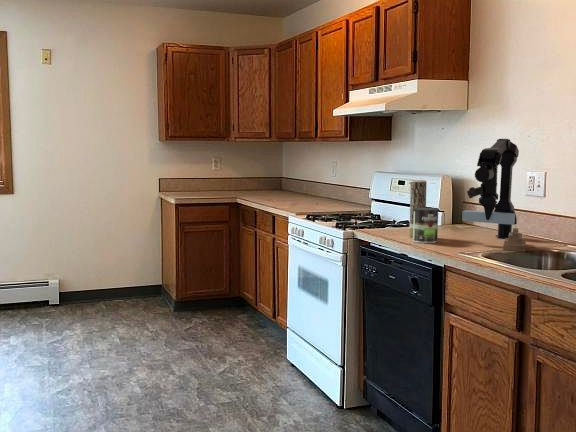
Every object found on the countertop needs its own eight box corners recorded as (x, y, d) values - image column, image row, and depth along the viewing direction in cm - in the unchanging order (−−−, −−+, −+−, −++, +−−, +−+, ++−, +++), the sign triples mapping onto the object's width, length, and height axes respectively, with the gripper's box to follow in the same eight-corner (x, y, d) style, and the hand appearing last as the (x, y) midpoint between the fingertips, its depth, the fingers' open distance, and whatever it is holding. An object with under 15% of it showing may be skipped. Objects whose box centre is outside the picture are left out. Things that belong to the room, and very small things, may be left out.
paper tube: (422, 235, 282) (424, 179, 279) (426, 238, 275) (428, 180, 272) (407, 235, 282) (409, 179, 279) (411, 238, 275) (412, 181, 272)
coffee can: (441, 243, 263) (442, 209, 261) (418, 243, 261) (419, 210, 259) (431, 239, 273) (432, 206, 271) (408, 240, 271) (409, 207, 269)
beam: (465, 219, 262) (465, 210, 262) (514, 223, 251) (514, 213, 251) (462, 220, 259) (462, 211, 259) (512, 224, 248) (512, 214, 248)
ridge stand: (504, 243, 262) (505, 227, 262) (525, 244, 260) (526, 228, 259) (503, 250, 246) (504, 233, 245) (525, 251, 243) (526, 234, 242)
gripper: (471, 178, 265) (469, 215, 267) (466, 181, 247) (464, 221, 249) (499, 179, 261) (497, 216, 263) (496, 182, 243) (494, 222, 245)
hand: (488, 219), depth 255 cm, fingers closed on beam, 4 cm apart
